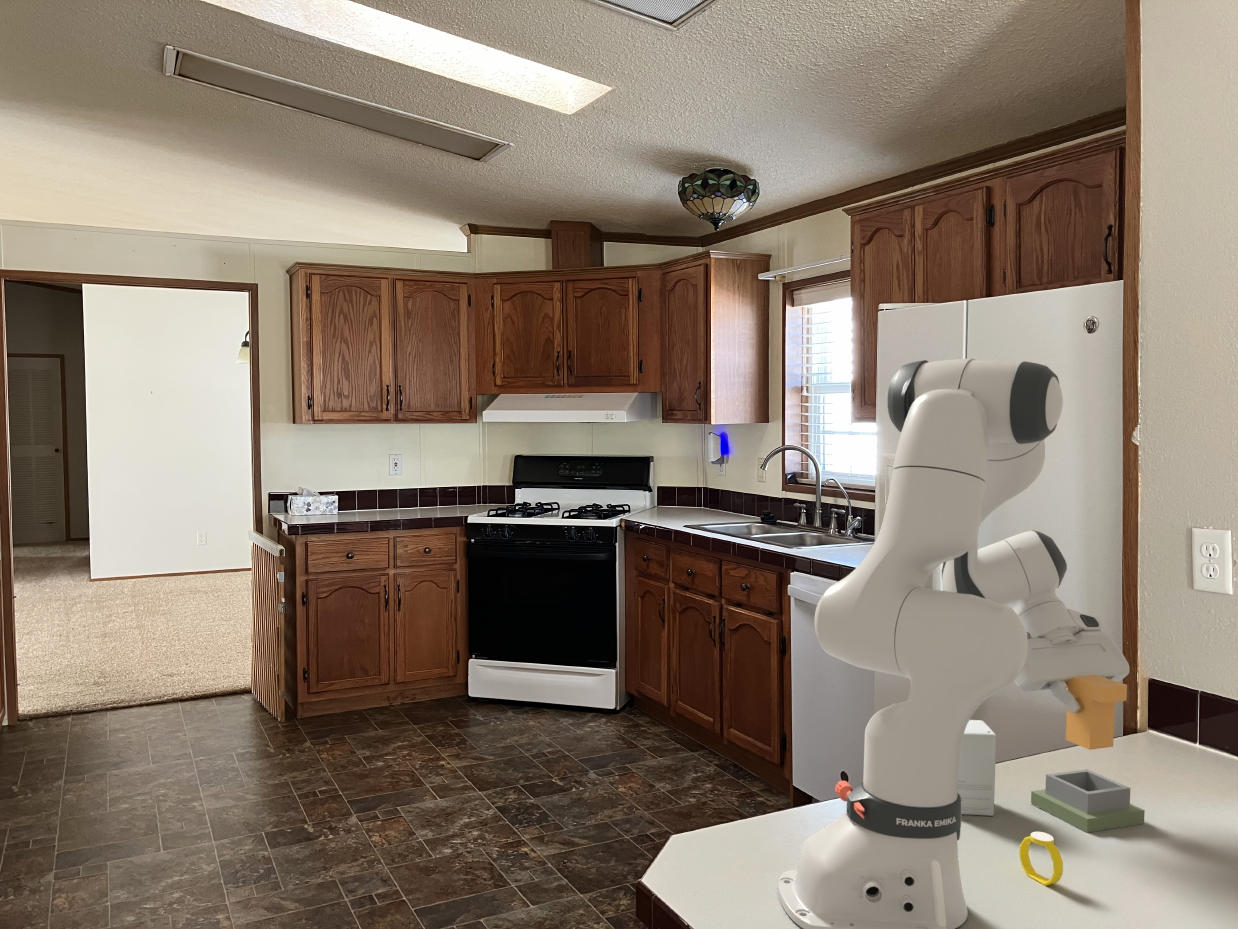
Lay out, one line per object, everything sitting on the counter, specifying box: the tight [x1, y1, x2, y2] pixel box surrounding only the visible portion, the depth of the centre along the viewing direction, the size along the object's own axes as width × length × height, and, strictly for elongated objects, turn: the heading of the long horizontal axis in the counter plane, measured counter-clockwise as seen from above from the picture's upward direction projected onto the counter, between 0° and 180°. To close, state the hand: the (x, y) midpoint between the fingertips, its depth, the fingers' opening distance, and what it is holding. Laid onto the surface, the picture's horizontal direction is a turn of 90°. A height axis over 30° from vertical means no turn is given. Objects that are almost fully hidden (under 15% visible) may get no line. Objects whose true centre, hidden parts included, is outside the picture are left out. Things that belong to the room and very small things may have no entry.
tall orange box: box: [1065, 675, 1128, 751], centre depth 146 cm, size 7×5×10 cm
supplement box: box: [958, 719, 997, 817], centre depth 149 cm, size 7×7×13 cm
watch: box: [1018, 831, 1064, 887], centre depth 125 cm, size 6×3×6 cm, turn 23°
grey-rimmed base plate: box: [1030, 768, 1146, 833], centre depth 147 cm, size 11×11×5 cm
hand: (1093, 709), depth 146 cm, fingers closed on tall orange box, 5 cm apart
